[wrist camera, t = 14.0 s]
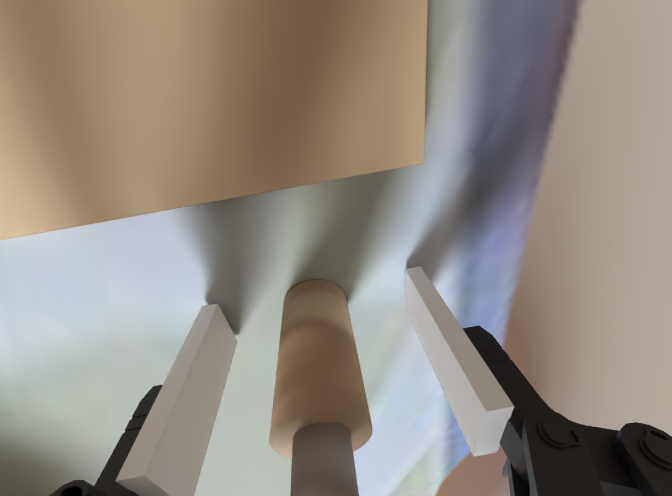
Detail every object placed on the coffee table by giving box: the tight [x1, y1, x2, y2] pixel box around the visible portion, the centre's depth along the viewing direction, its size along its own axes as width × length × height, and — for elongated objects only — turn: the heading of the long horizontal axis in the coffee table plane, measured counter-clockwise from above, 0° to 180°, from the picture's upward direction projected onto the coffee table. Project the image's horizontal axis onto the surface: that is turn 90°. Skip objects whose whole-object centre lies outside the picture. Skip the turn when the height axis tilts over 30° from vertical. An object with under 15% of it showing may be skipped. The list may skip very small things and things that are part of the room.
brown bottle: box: [269, 279, 372, 496], centre depth 9 cm, size 3×3×9 cm
